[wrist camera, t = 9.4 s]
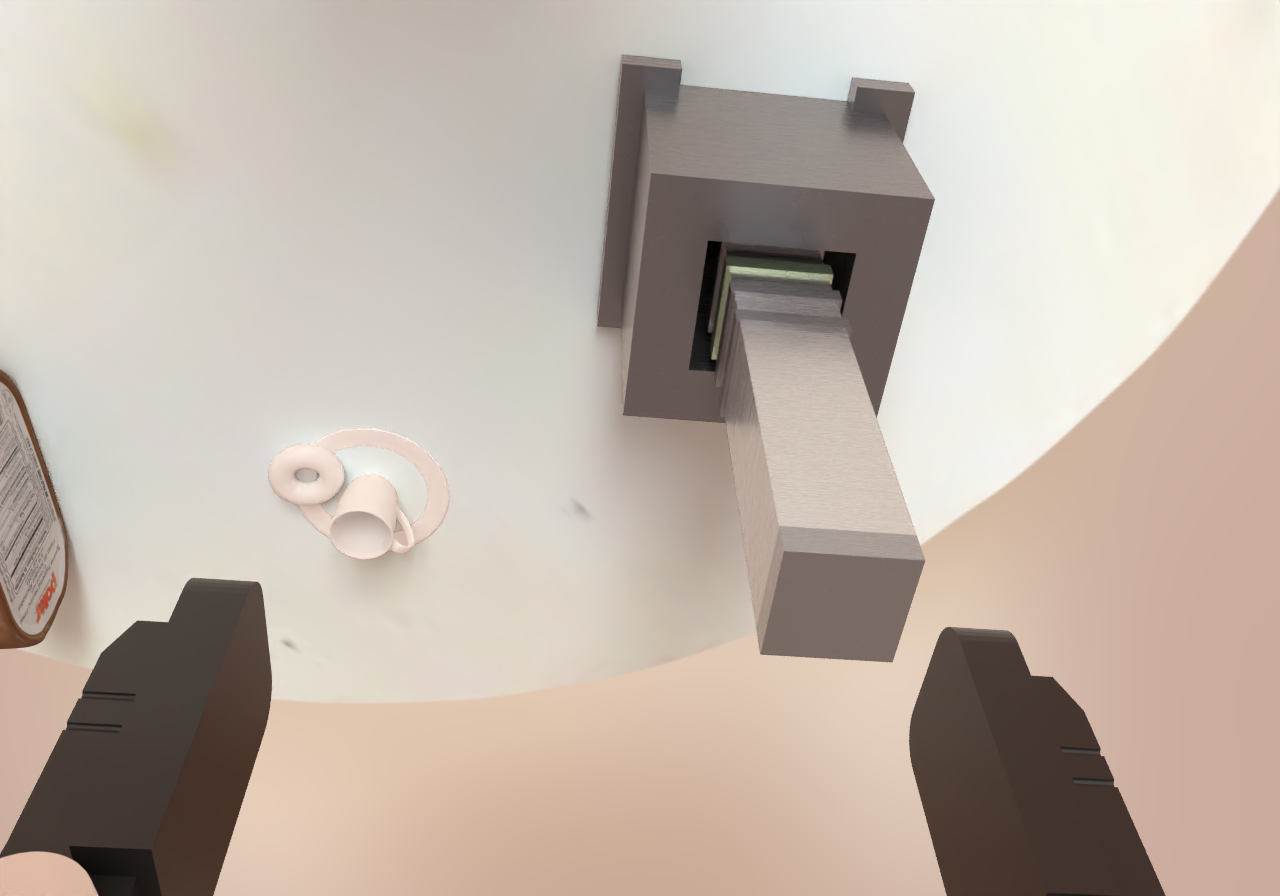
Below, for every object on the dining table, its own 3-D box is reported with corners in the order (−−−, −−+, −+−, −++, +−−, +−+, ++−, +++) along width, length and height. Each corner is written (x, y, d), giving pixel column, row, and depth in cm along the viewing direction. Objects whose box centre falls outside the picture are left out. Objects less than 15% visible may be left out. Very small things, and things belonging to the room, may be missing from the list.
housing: (622, 54, 47) (625, 155, 38) (908, 83, 48) (979, 188, 39) (597, 313, 54) (595, 452, 45) (849, 334, 55) (897, 474, 46)
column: (719, 226, 44) (778, 546, 29) (819, 234, 44) (932, 556, 29) (705, 315, 46) (753, 658, 31) (800, 323, 47) (896, 666, 31)
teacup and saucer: (251, 458, 59) (230, 507, 56) (372, 385, 57) (357, 432, 53) (364, 566, 63) (350, 618, 60) (481, 503, 61) (473, 553, 58)
